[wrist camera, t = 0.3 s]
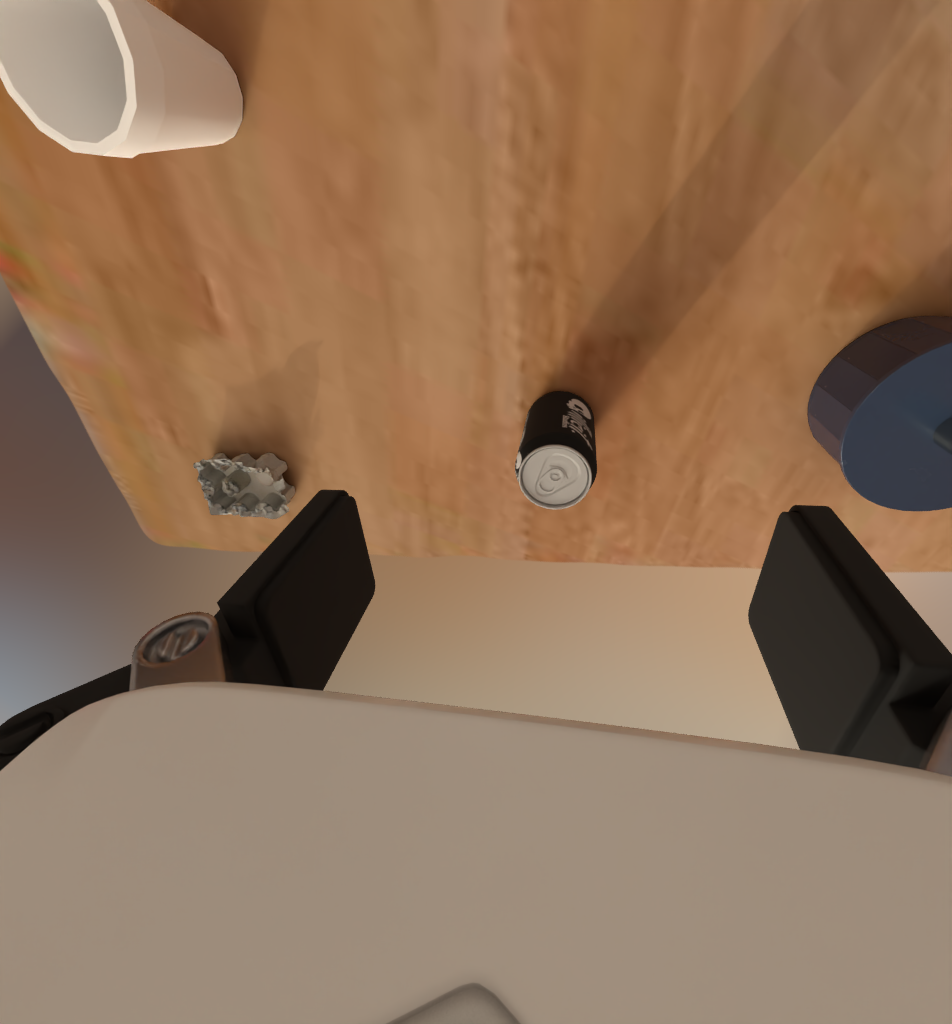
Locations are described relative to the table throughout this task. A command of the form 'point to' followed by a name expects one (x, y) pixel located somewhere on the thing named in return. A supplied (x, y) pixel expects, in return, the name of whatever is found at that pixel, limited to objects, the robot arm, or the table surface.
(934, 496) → the lid
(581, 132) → the table surface
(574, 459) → the beverage can
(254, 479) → the egg carton
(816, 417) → the tin
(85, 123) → the foam cup
